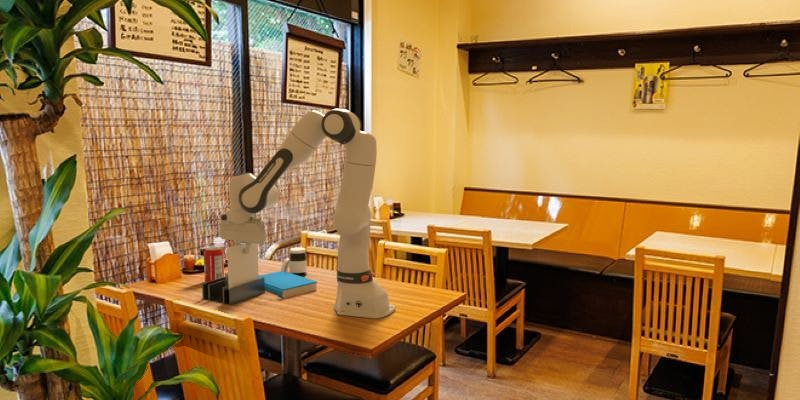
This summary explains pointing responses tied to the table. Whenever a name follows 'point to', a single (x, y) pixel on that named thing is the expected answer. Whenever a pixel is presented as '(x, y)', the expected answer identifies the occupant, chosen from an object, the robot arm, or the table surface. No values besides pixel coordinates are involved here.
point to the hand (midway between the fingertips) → (243, 252)
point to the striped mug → (296, 262)
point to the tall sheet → (242, 264)
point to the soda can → (213, 263)
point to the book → (287, 284)
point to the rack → (231, 290)
